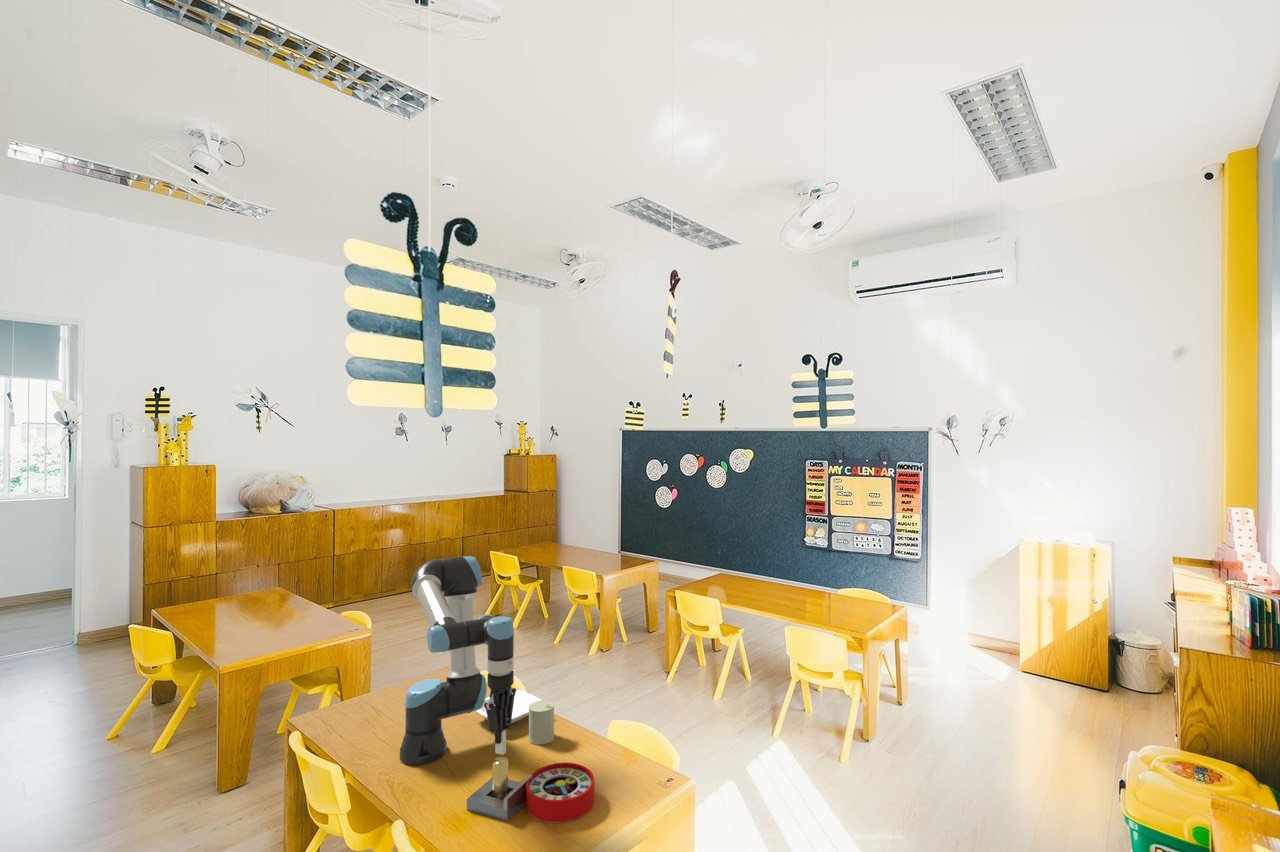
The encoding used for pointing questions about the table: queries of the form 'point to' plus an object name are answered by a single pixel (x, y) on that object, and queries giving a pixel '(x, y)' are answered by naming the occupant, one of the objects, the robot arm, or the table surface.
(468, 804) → the jig
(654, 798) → the table surface
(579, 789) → the toy clock
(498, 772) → the bushing
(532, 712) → the can
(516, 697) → the bowl
